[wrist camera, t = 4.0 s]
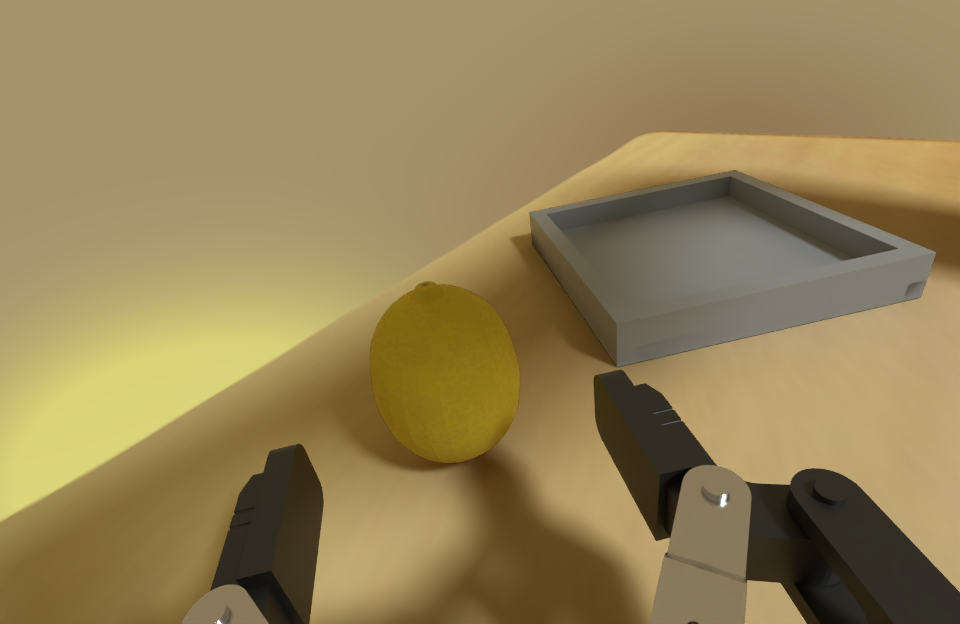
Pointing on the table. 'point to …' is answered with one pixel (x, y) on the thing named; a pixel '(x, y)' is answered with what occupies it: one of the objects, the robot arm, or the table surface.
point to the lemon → (444, 373)
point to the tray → (717, 264)
